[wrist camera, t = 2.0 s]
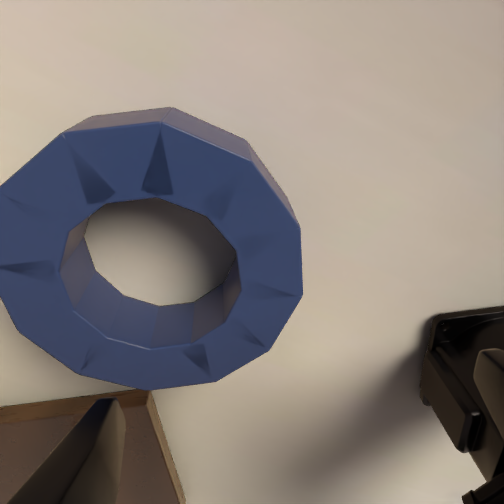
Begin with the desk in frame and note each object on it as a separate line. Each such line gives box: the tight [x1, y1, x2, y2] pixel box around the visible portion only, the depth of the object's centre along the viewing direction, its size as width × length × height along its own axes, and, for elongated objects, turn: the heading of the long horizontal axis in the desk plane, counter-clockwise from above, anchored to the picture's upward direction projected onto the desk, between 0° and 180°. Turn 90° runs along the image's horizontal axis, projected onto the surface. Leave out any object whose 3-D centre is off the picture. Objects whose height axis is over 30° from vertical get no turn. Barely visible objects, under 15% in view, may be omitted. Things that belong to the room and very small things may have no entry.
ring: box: [0, 107, 303, 391], centre depth 15 cm, size 11×11×3 cm
